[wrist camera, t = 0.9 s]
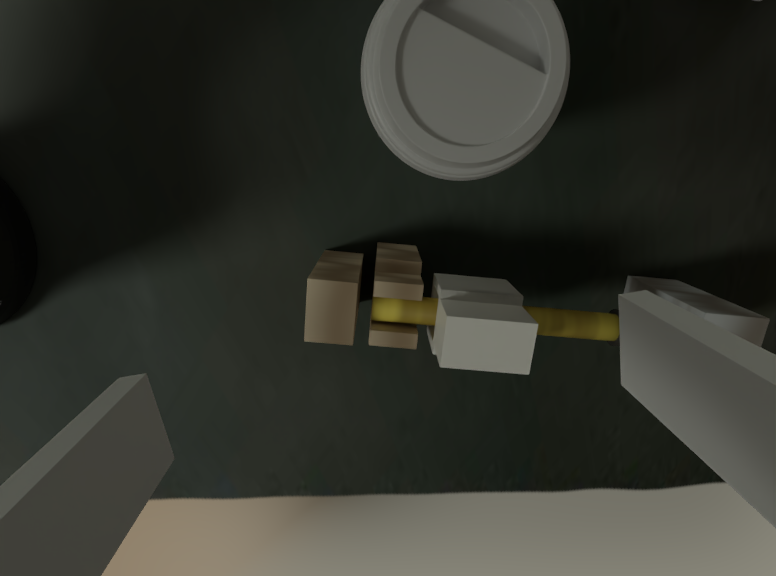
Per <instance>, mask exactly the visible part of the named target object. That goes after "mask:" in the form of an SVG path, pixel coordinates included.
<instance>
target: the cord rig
mask: <svg viewBox="0 0 776 576" xmlns="http://www.w3.org/2000/svg"><path fill="white" fill-rule="evenodd" d="M362 265H363V254H362V253H351V252H340V251H329V250H325V251H324V252H323V254H322V256H321V257H320V259H319V261H318V262H317V264H316V266H315V267H314V269H313V270H312V272H311V274H310V275H309V277H308V279H307V298H306V317H305V335H304V341H307V342H319V343H331V344H342V345H353V340H354V334H355V327H356V321H357V315H358V308H359V301H360V289H361V277H362ZM421 268H422V260H421V258H420V255H419V252H418V250H417V247H416V246H413V245H403V244H392V243H381V242H377V252H376V263H375V274H374V285H373V296H372V307H371V319H370V333H369V345H373V346H385V347H396V348H408V349H416V347H417V338H418V332H417V327H416V324H421V325H433V326H435V322H436V315H437V307H438V299H439V298H429V297H422V296H423V288H424V284H423V281H422V278H421ZM643 290H647V291H649V292H651V293H653V294H655V295H657V296H659V297H661V298H663V299H665V300H667V301H669V302H671V303H673V304H675V305H677V306H679V307H681V308H683V309H685V310H687V311H689V312H691V313H693V314H695V315H697V316H699V317H701V318H703V319H705V320H707V321H709V322H711V323H713V324H715V325H717V326H719V327H721V328H723V329H725V330H727V331H729V332H731V333H733V334H735V335H737V336H739V337H741V338H743V339H745V340H747V341H749V342H751V343H753V344H755V345H757V346H759V347H761V345H762V342H763V339H764V336H765V332H766V329H767V326H768V323H769V320H770V319H769V318H766V317H764V316H762V315H759V314H757V313H755V312H752V311H750V310H747V309H745V308H743V307H740V306H738V305H736V304H733V303H731V302H728V301H726V300H724V299H721V298H719V297H716V296H714V295H712V294H709V293H707V292H705V291H702V290H700V289H697V288H695V287H693V286H690V285H688V284H686V283H683V282H681V281H678V280H672V279H661V278H651V277H640V276H629V275H628V277H627V281H626V286H625V290H624V294H625V293H631V292H637V291H643ZM522 307H523V308H524V309H525V310H526V311H527V312H528V313H529V314H530V316H531V317H532V318H533V319H534V320H535V321H536V322H537V323H538V329H537V334H536V335H548V336H559V337H571V338H583V339H594V340H606V341H607V342H608V343H609V344H610V345H612V346H620V330H619V310H616V309H614V310H611V311H610V312H609V313H598V312H587V311H576V310H565V309H553V308H542V307H531V306H522Z"/></svg>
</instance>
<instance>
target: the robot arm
mask: <svg viewBox="0 0 776 576" xmlns="http://www.w3.org/2000/svg"><path fill="white" fill-rule="evenodd" d="M35 272H36V246H35V240H34V235H33V232H32V228H31V226H30V223H29V220H28V218H27V216H26V213H25V211H24V210H23V208H22V206H21V204H20V203H19V201H18V199H17V198H16V196H15V195H14V194H13V192H12V191H11V190H10V188H9V187H8V186H7V185H6V184H5V182H4V181H3V180H2V179H1V178H0V323H2V322H4V321H5V320H7V319H8V318H9V317H10V316H12V315H13V314H14V313H15V312H16V311H17V310H18V309H19V308H20V306H21V305H22V304H23V302H24V301H25V299H26V298H27V296H28V294H29V292H30V290H31V287H32V284H33V281H34V277H35ZM618 296H619V330H620V364H621V385H622V386H623V387H624V388H625V389H626V390H627V391H629V392H630V393H631V394H632V395H633V396H634V397H635V398H636V399H637V400H638V401H639V402H640V403H641V404H643V405H644V406H645V407H646V408H647V409H648V410H649V411H650V412H651V413H652V414H653V415H654V416H655V417H657V418H658V419H659V420H660V421H661V422H662V423H663V424H664V425H665V426H666V427H667V428H668V429H670V430H671V431H672V432H673V433H674V434H675V435H676V436H677V437H678V438H679V439H680V440H681V441H682V442H684V443H685V444H686V445H687V446H688V447H689V448H690V449H691V450H692V451H693V452H694V453H695V454H696V455H698V456H699V457H700V458H701V459H702V460H703V461H704V462H705V463H706V464H707V465H708V466H709V467H710V468H712V469H713V470H714V471H715V472H716V473H717V474H718V475H719V476H720V477H721V478H722V479H723V480H724V481H726V482H727V483H728V484H729V485H730V486H731V487H732V488H733V489H734V490H735V491H736V492H737V493H739V494H740V495H741V496H742V497H743V498H744V499H745V500H746V501H747V502H748V503H749V504H750V505H751V506H753V507H754V508H755V509H756V510H757V511H758V512H759V513H760V514H761V515H762V516H763V517H764V518H765V519H767V520H768V521H769V522H770V523H771V524H772V525H773V526H774V527H775V528H776V355H775V354H773V353H771V352H769V351H767V350H765V349H763V348H761V347H759V346H757V345H755V344H753V343H751V342H749V341H747V340H745V339H743V338H741V337H739V336H737V335H735V334H733V333H731V332H729V331H727V330H725V329H723V328H721V327H719V326H717V325H715V324H713V323H711V322H709V321H707V320H705V319H703V318H701V317H699V316H697V315H695V314H693V313H691V312H689V311H687V310H685V309H683V308H681V307H679V306H677V305H675V304H673V303H671V302H669V301H667V300H665V299H663V298H661V297H659V296H657V295H655V294H653V293H651V292H649V291H647V290H643V291H637V292H631V293H625V294H619V295H618ZM174 459H175V458H174V455H173V452H172V449H171V446H170V443H169V440H168V437H167V434H166V431H165V428H164V425H163V422H162V419H161V416H160V413H159V410H158V407H157V404H156V401H155V398H154V395H153V392H152V389H151V386H150V383H149V380H148V377H147V374H146V373H145V374H139V375H133V376H127V377H121V378H118V379H117V380H116V381H115V382H114V383H113V384H112V385H111V386H109V387H108V388H107V389H106V390H105V391H104V392H103V393H102V394H101V395H100V396H98V397H97V398H96V399H95V400H94V401H93V402H92V403H91V404H90V405H89V406H88V407H86V408H85V409H84V410H83V411H82V412H81V413H80V414H79V415H78V416H77V417H75V418H74V419H73V420H72V421H71V422H70V423H69V424H68V425H67V426H66V427H64V428H63V429H62V430H61V431H60V432H59V433H58V434H57V435H56V436H55V437H54V438H52V439H51V440H50V441H49V442H48V443H47V444H46V445H45V446H44V447H43V448H41V449H40V450H39V451H38V452H37V453H36V454H35V455H34V456H33V457H32V458H30V459H29V460H28V461H27V462H26V463H25V464H24V465H23V466H22V467H21V468H20V469H18V470H17V471H16V472H15V473H14V474H13V475H12V476H11V477H10V478H9V479H7V480H6V481H5V482H4V483H3V484H2V485H1V486H0V576H101V575H102V573H103V571H104V570H105V568H106V567H107V565H108V564H109V562H110V560H111V559H112V557H113V556H114V554H115V552H116V551H117V549H118V548H119V546H120V544H121V543H122V541H123V540H124V538H125V536H126V535H127V533H128V532H129V530H130V529H131V527H132V525H133V524H134V522H135V521H136V519H137V517H138V516H139V514H140V513H141V511H142V510H143V508H144V506H145V505H146V503H147V502H148V500H149V498H150V497H151V495H152V494H153V492H154V490H155V489H156V487H157V486H158V484H159V483H160V481H161V479H162V478H163V476H164V475H165V473H166V471H167V470H168V468H169V467H170V465H171V463H172V462H173V460H174Z"/></svg>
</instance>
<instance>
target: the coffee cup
mask: <svg viewBox="0 0 776 576" xmlns="http://www.w3.org/2000/svg"><path fill="white" fill-rule="evenodd" d="M569 74H570V49H569V42H568V36H567V32H566V28H565V25H564V22H563V19H562V17H561V14H560V12H559V10H558V8H557V6H556V4H555V3H554V1H553V0H384V1H383V3H382V4H381V6H380V7H379V9H378V10H377V12H376V14H375V16H374V18H373V20H372V22H371V24H370V27H369V29H368V32H367V35H366V39H365V42H364V47H363V52H362V59H361V85H362V93H363V98H364V102H365V106H366V109H367V112H368V115H369V117H370V119H371V122H372V124H373V126H374V128H375V130H376V131H377V133H378V134H379V136H380V138H381V139H382V140H383V142H384V143H385V144H386V145H387V147H388V148H389V149H390V150H391V151H392V152H393V153H394V154H395V155H396V156H397V157H398V158H400V159H401V160H402V161H403V162H405V163H406V164H408V165H409V166H411V167H412V168H414V169H416V170H418V171H420V172H422V173H425V174H427V175H430V176H433V177H436V178H441V179H446V180H456V181H465V180H475V179H481V178H485V177H488V176H492V175H495V174H497V173H500V172H502V171H504V170H506V169H508V168H510V167H511V166H513V165H515V164H516V163H518V162H519V161H521V160H522V159H523V158H524V157H526V156H527V155H528V154H529V153H530V152H531V151H532V150H533V149H534V148H535V147H536V146H537V145H538V144H539V143H540V142H541V141H542V139H543V138H544V137H545V135H546V134H547V133H548V131H549V130H550V128H551V127H552V125H553V123H554V121H555V120H556V118H557V116H558V114H559V111H560V109H561V107H562V104H563V101H564V98H565V95H566V91H567V87H568V81H569Z"/></svg>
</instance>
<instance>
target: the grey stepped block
mask: <svg viewBox="0 0 776 576" xmlns="http://www.w3.org/2000/svg"><path fill="white" fill-rule="evenodd" d="M431 298H439V299H438V307H437V315H436V322H435V326H433V325H427V333H428V337H429V341H430V345H431V349H432V353H433V354H435V355H437V358H438V362H439V365H440V367H443V368H455V369H467V370H479V371H491V372H503V373H515V374H527V375H529V371H530V366H531V361H532V356H533V350H534V345H535V340H536V334H537V329H538V323H537V322H536V321H535V320H534V319H533V318H532V317H531V316H530V314H529V313H528V312H527V311H526V310H525V309H524V308H523V307H522V303H523V296H522V295H521V294H520V293H519V292H518V291H517V290H516V289H515V288H514V287H513V286H512V285H511V284H510V283H509V282H508V281H507V280H506V279H495V278H484V277H473V276H462V275H451V274H440V273H434V277H433V285H432V293H431Z"/></svg>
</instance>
